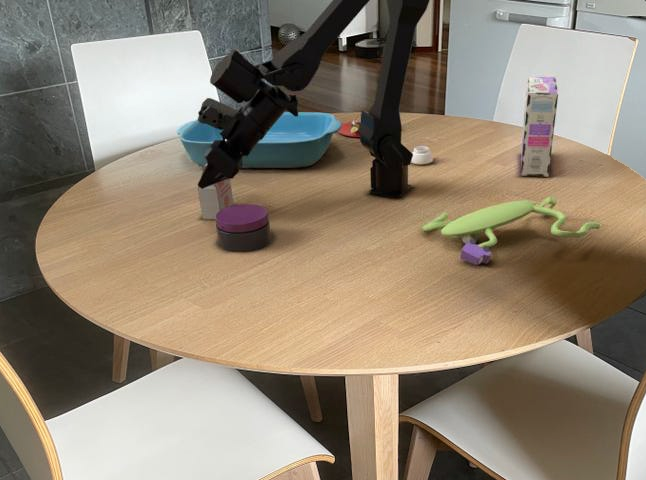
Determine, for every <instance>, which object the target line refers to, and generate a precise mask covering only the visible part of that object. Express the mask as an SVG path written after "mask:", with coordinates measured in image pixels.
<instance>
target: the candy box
mask: <svg viewBox="0 0 646 480" xmlns="http://www.w3.org/2000/svg"><path fill="white" fill-rule="evenodd" d="M558 98H559V89H558V84H557V79H556V76H527V81H526V92H525V101H524V102H525V103H524V115H523V125H522V141H521V154H520V157H521V158H520V176H524V177H541V178H542V177H545V178H548V177H549V176H550V168H551V160H552V159H551V158H552V149H553V140H554V133H555V132H554V131H555V125H556V124H555V123H556V116H557V108H558V100H559V99H558Z"/></svg>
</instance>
